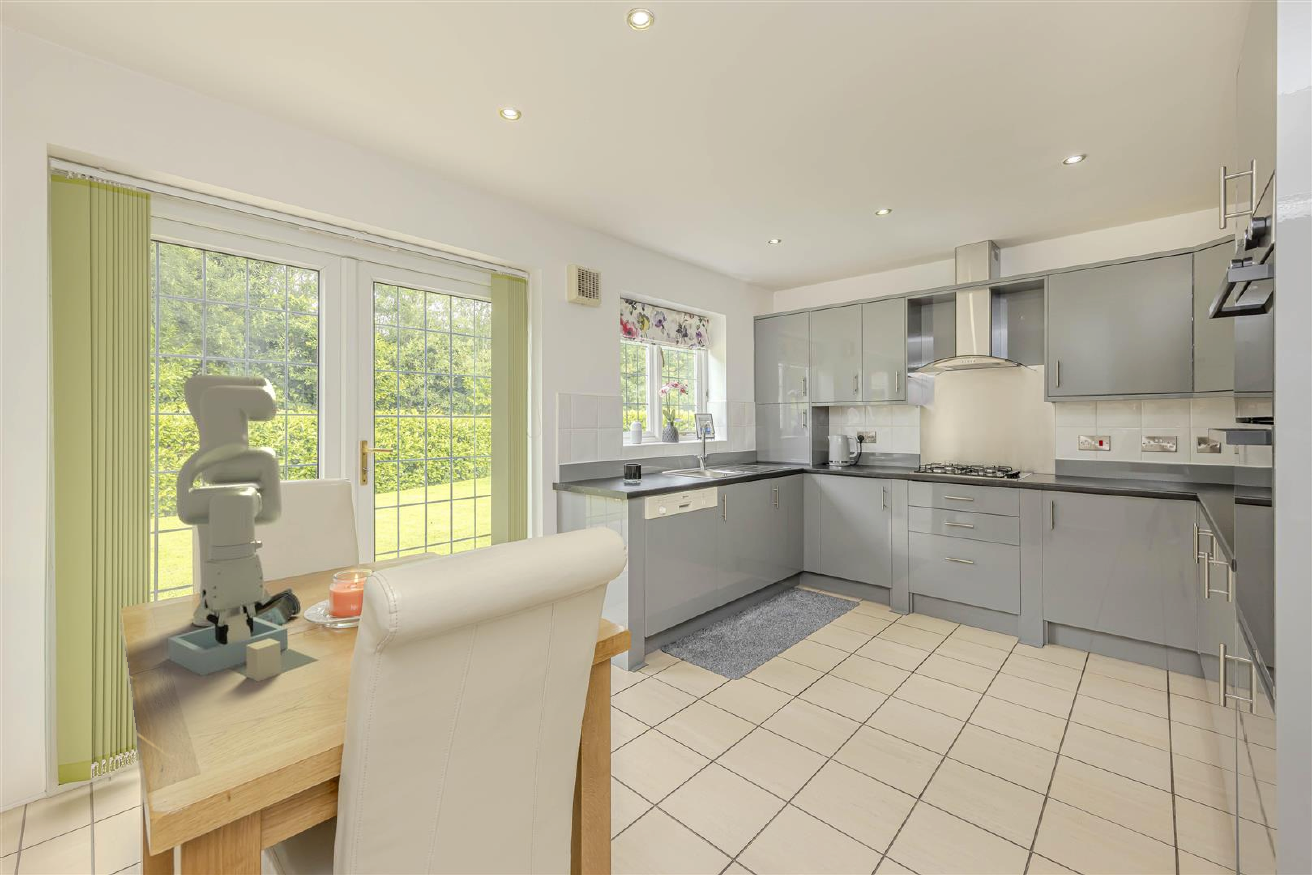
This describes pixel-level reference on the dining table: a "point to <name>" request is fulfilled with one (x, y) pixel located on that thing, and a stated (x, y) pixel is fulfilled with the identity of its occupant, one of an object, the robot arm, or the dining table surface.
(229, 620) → the stone
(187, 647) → the blue bin
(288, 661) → the dark mat
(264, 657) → the stone
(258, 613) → the dark piece
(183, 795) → the dining table surface
